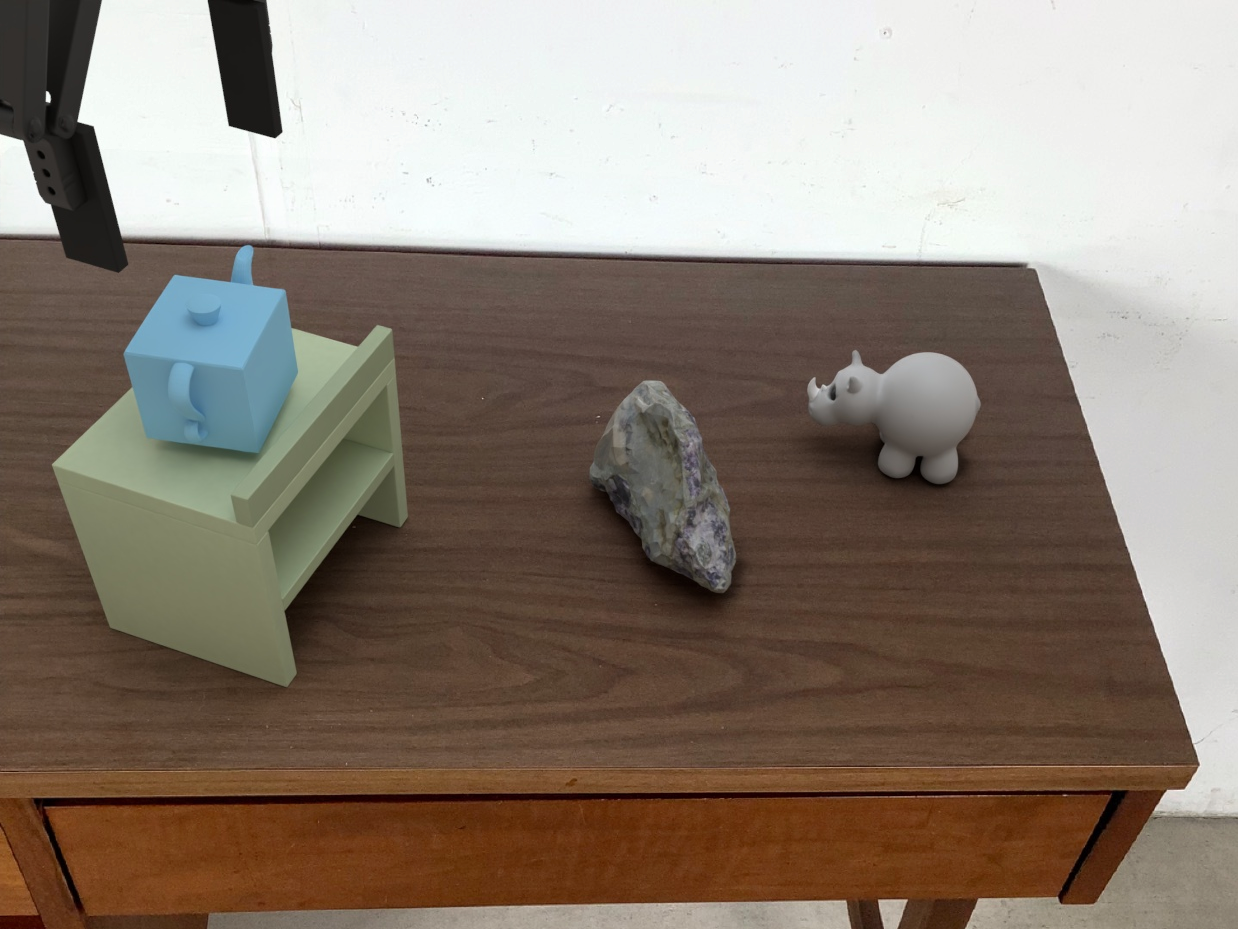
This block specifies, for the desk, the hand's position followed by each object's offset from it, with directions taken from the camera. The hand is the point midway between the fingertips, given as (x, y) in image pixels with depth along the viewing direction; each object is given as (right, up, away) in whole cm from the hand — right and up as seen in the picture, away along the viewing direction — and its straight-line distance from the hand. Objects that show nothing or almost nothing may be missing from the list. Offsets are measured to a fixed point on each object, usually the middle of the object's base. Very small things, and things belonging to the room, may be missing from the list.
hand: (182, 191), depth 62 cm
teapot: (-1, -9, +10) cm, 13 cm away
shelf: (-2, -17, +20) cm, 26 cm away
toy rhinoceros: (+39, -8, +32) cm, 51 cm away
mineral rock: (+23, -15, +24) cm, 37 cm away
